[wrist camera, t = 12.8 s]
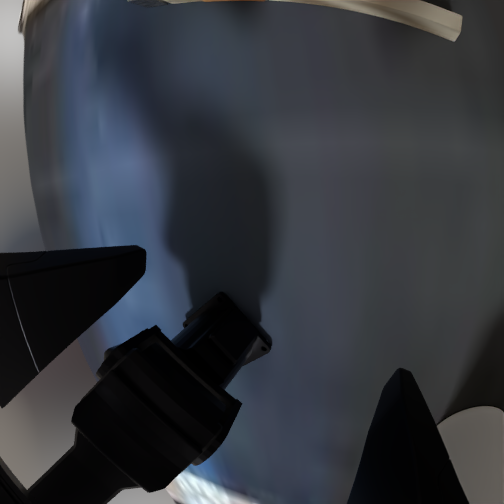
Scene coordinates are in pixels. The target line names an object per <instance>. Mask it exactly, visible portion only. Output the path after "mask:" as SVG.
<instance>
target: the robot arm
mask: <svg viewBox="0 0 504 504" xmlns="http://www.w3.org/2000/svg"><path fill="white" fill-rule="evenodd" d="M145 270H146V250H145V249H143V248H141V247H139V246H137V245H130V246H113V247H98V248H83V249H68V250H54V251H39V252H21V253H20V252H19V253H0V406H1V408H3V407H5V406H6V405H7V404H8V403H9V402H10V401H11V400H12V399H13V398H14V397H15V396H16V395H17V394H18V393H19V392H20V391H21V390H22V389H23V388H24V387H25V386H26V385H27V384H28V383H29V382H30V381H31V380H32V379H34V378H35V376H37V375H38V374H39V373H40V372H41V371H42V370H43V369H44V368H45V367H46V366H47V365H48V364H49V363H50V362H51V361H53V360H54V359H55V358H56V357H57V356H58V355H59V354H60V353H61V352H62V351H63V350H64V349H65V348H67V346H69V345H70V344H71V343H72V342H73V341H74V340H75V339H77V338H78V337H79V336H80V335H81V334H82V333H83V332H84V331H86V330H87V329H88V328H89V327H90V326H91V325H92V324H93V323H95V322H96V321H97V320H98V319H99V318H100V317H101V316H103V315H104V314H105V313H106V312H107V311H108V310H109V309H111V308H112V307H113V306H114V305H115V304H116V303H117V302H118V301H119V300H120V299H121V298H122V297H123V296H124V295H125V294H126V293H127V292H128V291H129V290H130V289H131V288H132V287H133V286H134V285H135V284H136V283H137V282H138V281H139V279H140V278H141V277H142V276H143V275H144V273H145ZM220 297H221V298H222V299H223V300H221V299H220ZM183 327H184V329H183V330H182V331H181V332H180V333H179V334H178V335H177V336H175V337H174V338H173V339H172V340H171V341H170V340H169V339H168V338H167V337H166V336H165V335H164V334H163V333H162V332H161V329H160V328H159V327H158V326H157V325H155V326H153V327H152V328H150V329H148V328H147V329H145V330H144V331H141V332H140V333H139V334H137V335H135V336H134V337H132V338H130V339H129V340H127V341H125V342H124V343H122V344H119V345H117V346H114V347H111V348H109V349H107V350H106V351H105V353H104V362H103V363H102V365H101V366H100V368H99V369H98V371H97V373H96V376H97V377H98V378H99V381H98V382H97V383H96V385H95V386H94V387H93V388H92V389H91V390H90V391H89V392H88V393H87V394H86V395H85V396H84V397H83V398H82V400H81V401H80V403H78V404H77V405H76V407H75V409H74V412H73V416H72V421H71V422H72V424H73V425H74V426H75V427H76V432H75V441H74V445H73V446H72V447H71V448H70V449H69V450H68V451H67V452H66V453H65V454H64V455H63V456H62V457H61V458H60V459H59V460H58V461H57V462H56V463H55V464H54V465H53V466H52V467H51V468H50V469H49V470H48V471H47V472H46V473H45V474H43V475H42V477H40V478H39V479H38V480H37V481H36V482H35V483H34V484H33V485H32V486H31V487H30V488H29V489H28V490H26V488H25V487H24V486H23V485H22V484H21V483H20V481H19V480H18V479H17V478H16V476H15V475H14V474H13V473H12V472H11V470H10V469H9V468H8V466H7V465H6V464H5V463H4V461H3V460H2V458H1V457H0V504H107V503H108V502H109V501H110V500H111V499H112V498H114V497H115V496H116V495H117V494H118V493H119V492H120V491H122V490H124V489H131V488H140V487H141V488H143V489H144V490H145V491H147V492H149V493H150V492H154V491H158V490H161V489H164V488H166V487H167V486H168V485H169V484H170V483H171V481H172V480H173V479H174V478H176V477H177V476H178V475H179V474H180V473H181V472H182V471H183V470H185V469H186V468H187V467H188V466H189V465H190V464H193V465H194V466H197V465H199V464H201V463H203V462H204V461H205V460H207V459H208V458H209V457H210V456H211V455H212V454H213V453H214V452H215V451H216V450H217V449H218V448H219V447H220V445H221V444H222V443H223V441H224V440H225V438H226V436H227V435H228V433H229V431H230V428H231V426H232V424H233V422H234V420H235V418H236V416H237V414H238V412H239V410H240V407H241V405H242V403H241V402H240V401H239V400H238V399H235V398H233V397H232V396H231V395H230V394H229V393H227V392H226V391H225V388H226V387H227V386H228V384H229V383H230V382H231V380H232V379H233V378H234V376H235V375H236V374H237V372H238V371H239V370H240V368H241V367H242V366H244V365H246V364H248V363H250V362H252V361H254V360H256V359H258V358H260V357H261V356H263V355H265V354H267V353H269V351H270V350H271V345H270V344H269V343H268V341H267V340H266V339H265V338H264V337H263V336H262V335H261V334H260V333H259V331H258V330H257V329H256V328H255V327H254V326H253V325H252V324H251V323H250V321H249V320H248V319H247V318H246V317H245V316H244V315H243V314H242V312H241V311H240V310H239V309H238V308H237V307H236V306H235V304H234V303H233V302H232V301H231V300H230V299H229V297H228V296H227V295H226V294H225V293H223V292H219V293H218V294H217V295H215V296H214V297H213V298H212V299H211V300H210V301H208V302H207V303H206V304H205V305H204V306H202V307H201V308H200V309H199V310H198V311H196V312H195V313H194V314H193V315H192V316H190V317H189V318H188V319H187V320H186V321H185V322H183ZM264 347H266V348H264ZM449 458H450V457H449V454H448V452H447V449H446V447H445V445H444V442H443V440H442V437H441V435H440V433H439V430H438V428H437V426H436V424H435V421H434V419H433V417H432V415H431V412H430V410H429V408H428V406H427V404H426V402H425V399H424V397H423V395H422V393H421V391H420V389H419V387H418V385H417V383H416V381H415V379H414V377H413V375H412V373H411V372H410V371H408V370H406V369H403V368H398V369H397V370H396V371H395V373H394V374H393V375H392V377H391V378H390V379H389V381H388V382H387V383H386V385H385V386H384V388H383V390H382V393H381V396H380V399H379V402H378V405H377V408H376V411H375V414H374V417H373V420H372V423H371V425H370V428H369V431H368V435H367V438H366V442H365V446H364V450H363V453H362V457H361V461H360V464H359V468H358V471H357V474H356V478H355V481H354V484H353V487H352V490H351V493H350V496H349V499H348V502H347V504H469V501H468V499H467V497H466V495H465V493H464V490H463V488H462V486H461V484H460V482H459V479H458V477H457V474H456V472H455V469H454V467H453V464H452V462H451V460H450V459H449Z"/></svg>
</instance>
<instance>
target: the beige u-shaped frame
mask: <svg viewBox="0 0 504 504" xmlns="http://www.w3.org/2000/svg"><path fill="white" fill-rule="evenodd" d="M197 1H204V2H213V1H265V0H127V2H130V3H134V4H137V5H140V6H143V7H146V8H149V7H155V6H161V5H168V3H171V4H177V3H186V2H197ZM271 1H286V2H298V3H307V4H315V5H322V6H329V7H335V8H341V9H346V10H351V11H356V12H361V13H365V14H370V15H374V16H378V17H382V18H386V19H389V20H393V21H396V22H400V23H403V24H406V25H409V26H413V27H416V28H419V29H422V30H424V31H427V32H430V33H433V34H435V35H438V36H441V37H443V38H446V39H448V40H451V41H453V42H455V40H456V39H457V37H458V36H459V34H460V32H461V24H462V16H461V15H458V14H456V13H454V12H451V11H449V10H446V9H443V8H441V7H438V6H435V5H432V4H430V3H427V2H424V1H421V0H271Z"/></svg>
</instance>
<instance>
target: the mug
mask: <svg viewBox="0 0 504 504" xmlns="http://www.w3.org/2000/svg"><path fill="white" fill-rule="evenodd" d="M437 428H438V430H439V433H440V435H441V437H442V440H443V442H444V445H445V447H446V449H447V452H448V454H449V457H450V458H449V459H450V460H451V462H452V464H453V467H454V469H455V472H456V474H457V477H458V479H459V482H460V484H461V486H462V488H463V490H464V493H465V495H466V497H467V499H468V501H469V504H504V412H503V411H502V410H500V409H499V408H496V407H492V406H479V407H473V408H469V409H466V410H463V411H460V412H458V413H455V414H453V415H451V416H450V417H448V418H446V419H445V420H443V421H442V422H441V423H440V424H438V425H437Z"/></svg>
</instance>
